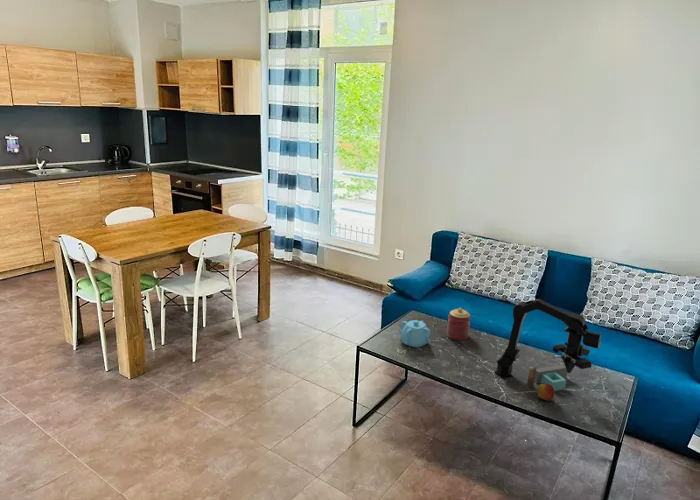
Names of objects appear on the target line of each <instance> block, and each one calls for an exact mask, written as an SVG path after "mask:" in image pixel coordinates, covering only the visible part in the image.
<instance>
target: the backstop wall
mask: <svg viewBox="0 0 700 500" xmlns="http://www.w3.org/2000/svg"><path fill="white" fill-rule="evenodd" d="M551 372H556V373H557V374H559V375H560V376H561V377H563V378H564V379H567V377H568V376H567V375H568V372H567V370H566V367H565V364H558V365H553V366H546V367H540V368H536V374H535V380H534V383H536V384H541V383H540V380H541V374H545V373H551Z"/></svg>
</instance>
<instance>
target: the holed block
mask: <svg viewBox="0 0 700 500" xmlns="http://www.w3.org/2000/svg"><path fill="white" fill-rule="evenodd" d="M539 384H550V385H552V387H553V388H554V392H555V391H562V390H565V389H566V385H567V379H566V378H563V377H561V376H560V375H559V374H557V373H556V372H551V373H545V374H541V380H540V383H539Z"/></svg>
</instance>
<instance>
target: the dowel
mask: <svg viewBox="0 0 700 500" xmlns="http://www.w3.org/2000/svg"><path fill="white" fill-rule="evenodd" d="M536 369H537V367H535V366H534V365H533V366H532V365H531V366H529V369H528V370H529V371H528V377H527V382H526V387H527V388H529V389H533V388H534V386H535V385H534V384H535V382H534V380H535V374H536Z"/></svg>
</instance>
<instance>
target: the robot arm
mask: <svg viewBox="0 0 700 500" xmlns="http://www.w3.org/2000/svg"><path fill="white" fill-rule="evenodd" d="M535 310H538V311H540V312H543V313H545V314H546V315H549V316H551V317H552V318H555V319H557V320H559V321H561V322H562V323H564V324H565V326H567V327H565V328H564V330H563V331H564V332H567V333H568V335H567V340H566V342H564V344H563V343H560V344H554V346H553V347H552V351H553V352H554V353H556V354H558V353H559V352H561V354H562V355H561V356H560V358H561V360H562V362H563V365H565V367H566V370H567V374H571V373H572V371H573V369H574V368H575V367H577V368H579V369H581V370H584V369H591V368H592V364H593V363H592V361H591V360H589V359H588V358H586V357H589V355H590V353H591V350H590V349H589V348H592V349H597V350H598V349H599V347H600V345H601V340H602V339H601V335H602V334H601V333H599V332H593V331H590V329H589V326H588V325H587V323H586V319H585V318H586V317H584V315H582V314H578V313H575V312H571V311H570V312H568V311H565V310H563V309H562V308H559V307H558V306H555V305H552V304H551V303H549V302H547V301H544V300H543V299H541V298H537V299H531V300H528V301H519V302H518V303H517V304H516V305H514V306H513V308H512V317H513V318H512V319H513V323H512V327H511V330H510V331H511V332H510V334H509V340H508V345H507V347H506V348H505V351H504V352H503V354H502V355H500V357H499V358H498V359H497V360H496V363H497V367H496V370H494V373H495V374H496V375H497V376H498V377H500V378H501V379H505V378H511V377H514V375H513V374H512V371H513V364H514V363H515V362H516V361H517V360H518V359H519V358H520V352H521V349H519V347H518V346H519V345H518V344H519V342H520V337H521V332H522V327H523V325H524V324H523V323H524V321H525V318H526V316H527V314H528V313H531V312H533V311H535ZM585 346H586V347H585ZM587 347H589V348H587ZM583 356H585V357H583ZM582 357H583V358H582Z"/></svg>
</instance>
